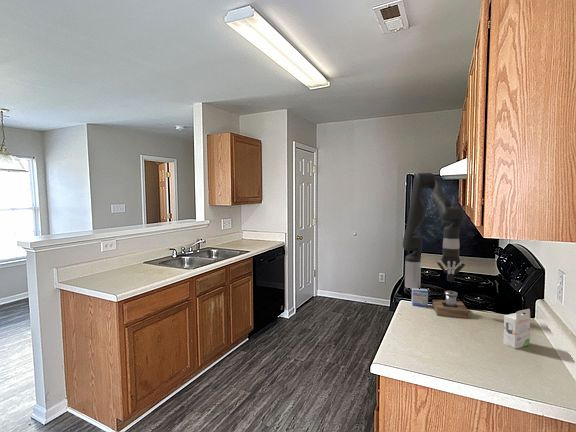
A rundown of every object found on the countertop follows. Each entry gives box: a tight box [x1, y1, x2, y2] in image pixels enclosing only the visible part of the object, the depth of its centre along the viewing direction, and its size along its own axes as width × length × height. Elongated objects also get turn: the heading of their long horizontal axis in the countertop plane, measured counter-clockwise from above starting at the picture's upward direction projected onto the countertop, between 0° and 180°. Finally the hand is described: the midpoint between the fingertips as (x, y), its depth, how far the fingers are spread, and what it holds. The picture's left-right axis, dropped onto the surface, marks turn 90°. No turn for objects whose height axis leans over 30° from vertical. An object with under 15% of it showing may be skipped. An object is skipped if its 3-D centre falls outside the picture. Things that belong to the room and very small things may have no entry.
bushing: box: [444, 290, 458, 307], centre depth 162 cm, size 6×6×10 cm
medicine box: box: [411, 288, 429, 308], centre depth 173 cm, size 8×4×9 cm, turn 73°
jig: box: [431, 299, 470, 319], centre depth 162 cm, size 14×14×4 cm
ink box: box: [503, 308, 531, 350], centre depth 126 cm, size 9×5×15 cm, turn 111°
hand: (450, 281), depth 162 cm, fingers closed
